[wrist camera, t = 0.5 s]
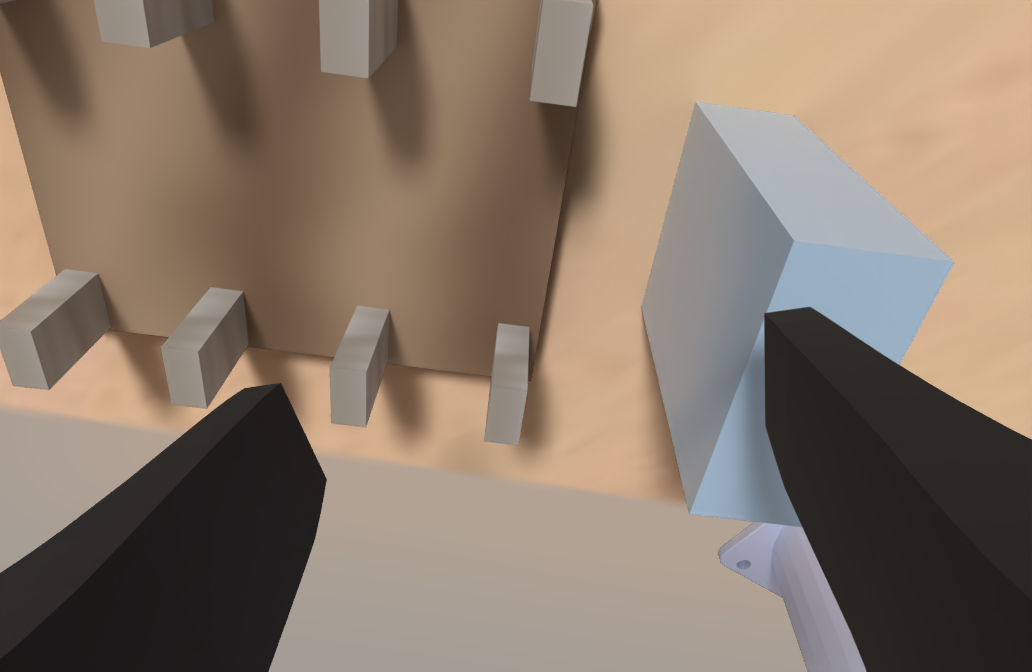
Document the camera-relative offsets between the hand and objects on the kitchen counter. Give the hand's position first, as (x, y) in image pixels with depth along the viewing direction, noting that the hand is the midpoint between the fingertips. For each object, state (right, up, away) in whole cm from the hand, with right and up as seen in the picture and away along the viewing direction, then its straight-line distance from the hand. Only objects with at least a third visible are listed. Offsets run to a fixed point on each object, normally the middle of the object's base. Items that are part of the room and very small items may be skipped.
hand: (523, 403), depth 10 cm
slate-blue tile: (+5, +4, +8) cm, 11 cm away
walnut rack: (-6, +6, +8) cm, 11 cm away
